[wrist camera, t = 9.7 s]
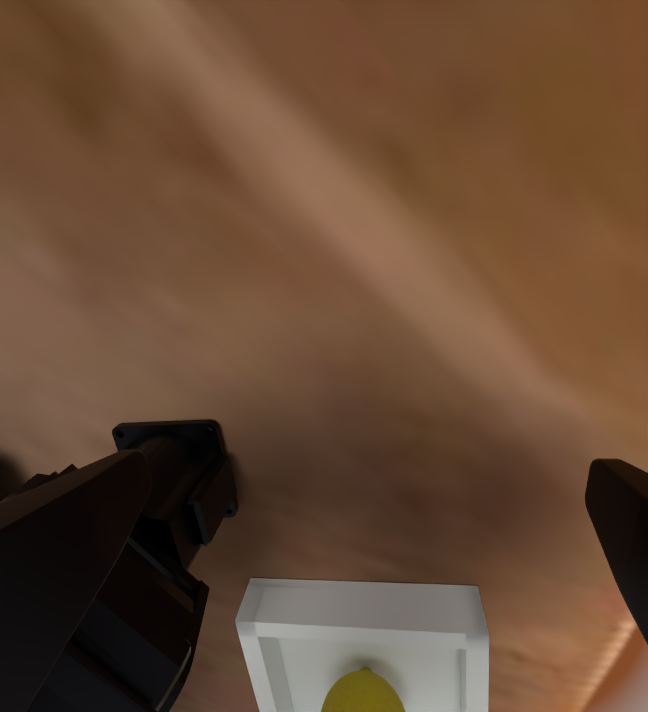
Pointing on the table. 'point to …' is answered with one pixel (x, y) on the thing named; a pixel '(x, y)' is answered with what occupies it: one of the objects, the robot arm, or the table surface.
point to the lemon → (362, 694)
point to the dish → (365, 642)
